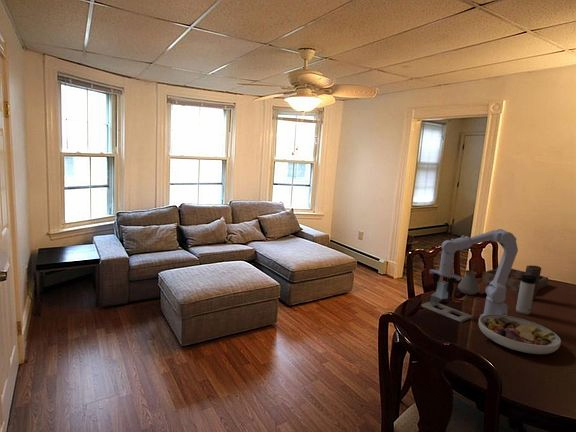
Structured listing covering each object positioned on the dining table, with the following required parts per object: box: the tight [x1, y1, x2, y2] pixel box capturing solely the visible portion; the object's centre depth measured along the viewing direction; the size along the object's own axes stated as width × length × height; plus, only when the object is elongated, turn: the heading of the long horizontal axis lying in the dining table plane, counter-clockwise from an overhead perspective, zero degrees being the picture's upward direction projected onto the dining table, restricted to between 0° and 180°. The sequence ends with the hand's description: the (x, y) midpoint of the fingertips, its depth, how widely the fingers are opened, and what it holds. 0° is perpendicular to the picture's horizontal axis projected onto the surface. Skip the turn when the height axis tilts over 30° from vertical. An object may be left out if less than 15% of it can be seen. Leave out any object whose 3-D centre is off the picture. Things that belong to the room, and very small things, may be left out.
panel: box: [421, 300, 472, 323], centre depth 180 cm, size 21×10×1 cm, turn 37°
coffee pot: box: [457, 263, 480, 296], centre depth 216 cm, size 21×12×15 cm, turn 144°
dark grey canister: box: [524, 264, 542, 301], centre depth 208 cm, size 8×7×20 cm
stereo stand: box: [481, 267, 549, 293], centre depth 235 cm, size 27×32×7 cm
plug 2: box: [435, 280, 449, 300], centre depth 181 cm, size 4×4×8 cm
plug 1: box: [429, 291, 443, 303], centre depth 195 cm, size 8×4×4 cm, turn 143°
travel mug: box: [515, 275, 537, 316], centre depth 186 cm, size 6×7×20 cm
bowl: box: [477, 314, 562, 355], centre depth 155 cm, size 30×30×8 cm
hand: (442, 290), depth 181 cm, fingers closed on plug 2, 5 cm apart
